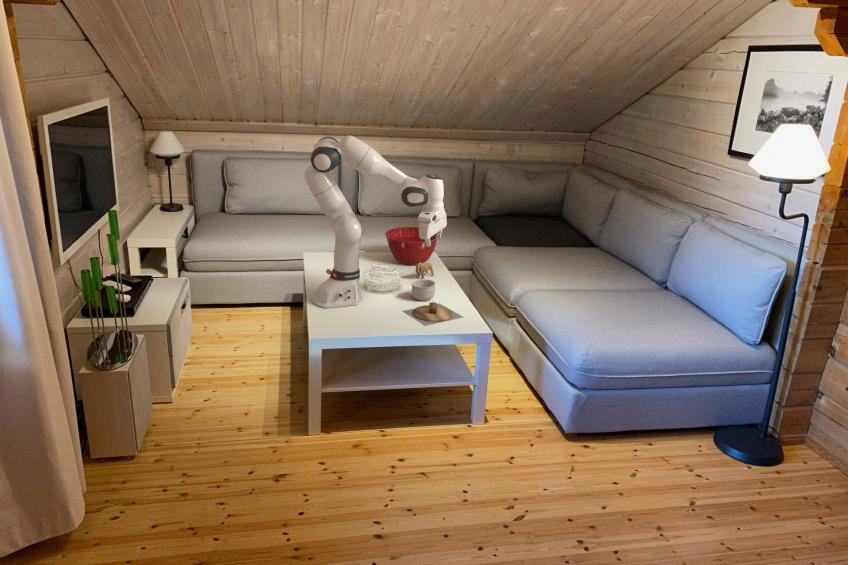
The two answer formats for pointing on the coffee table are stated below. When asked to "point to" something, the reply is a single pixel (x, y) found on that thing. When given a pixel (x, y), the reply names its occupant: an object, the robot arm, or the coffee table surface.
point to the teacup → (423, 289)
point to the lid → (432, 313)
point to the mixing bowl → (409, 245)
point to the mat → (410, 313)
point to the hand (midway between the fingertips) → (433, 242)
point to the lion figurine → (423, 269)
